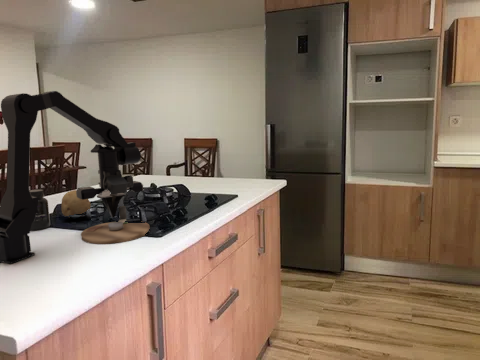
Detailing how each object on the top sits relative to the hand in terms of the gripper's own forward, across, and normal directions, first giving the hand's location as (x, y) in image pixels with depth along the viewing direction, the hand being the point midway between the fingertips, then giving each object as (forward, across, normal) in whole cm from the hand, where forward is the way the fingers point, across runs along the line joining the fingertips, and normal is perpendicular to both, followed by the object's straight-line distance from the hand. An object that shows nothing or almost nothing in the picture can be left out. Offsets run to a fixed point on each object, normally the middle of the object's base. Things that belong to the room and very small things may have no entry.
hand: (113, 217), depth 116 cm
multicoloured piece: (+2, 0, -4) cm, 5 cm away
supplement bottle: (+4, -18, +18) cm, 25 cm away
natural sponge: (+3, -5, +20) cm, 21 cm away
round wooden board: (+3, -2, -7) cm, 8 cm away
